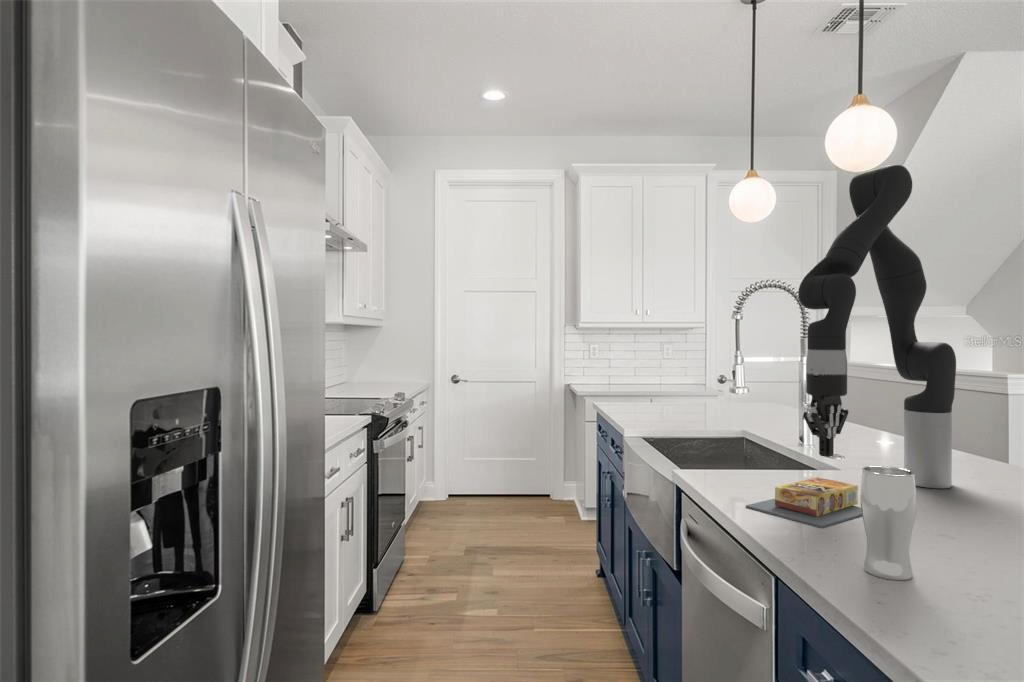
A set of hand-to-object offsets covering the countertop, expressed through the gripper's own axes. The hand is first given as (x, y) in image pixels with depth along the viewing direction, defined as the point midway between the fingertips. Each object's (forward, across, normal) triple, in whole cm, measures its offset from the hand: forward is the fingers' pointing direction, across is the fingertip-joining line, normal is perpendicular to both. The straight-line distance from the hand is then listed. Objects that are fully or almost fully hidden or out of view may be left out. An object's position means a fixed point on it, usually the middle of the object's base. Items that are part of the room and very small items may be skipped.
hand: (826, 456), depth 125 cm
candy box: (+8, -4, 0) cm, 9 cm away
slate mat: (+10, +6, 0) cm, 12 cm away
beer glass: (+10, +27, +25) cm, 38 cm away
